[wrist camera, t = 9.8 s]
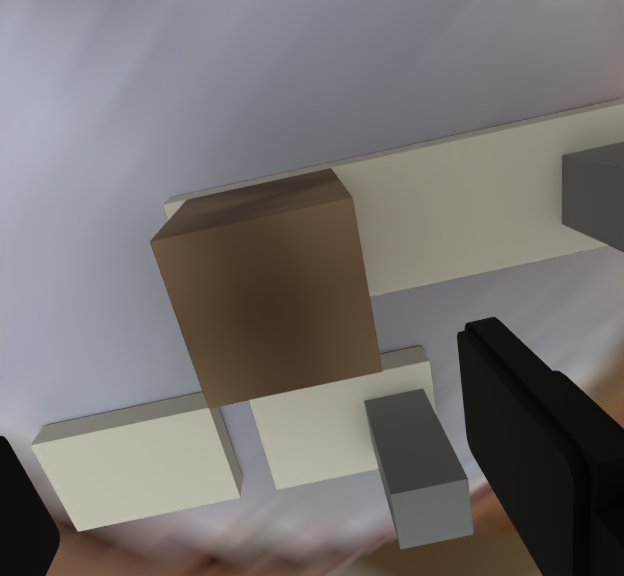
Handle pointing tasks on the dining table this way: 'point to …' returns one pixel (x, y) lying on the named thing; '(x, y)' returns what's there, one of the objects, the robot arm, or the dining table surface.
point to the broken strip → (268, 452)
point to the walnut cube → (270, 287)
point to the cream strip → (482, 197)
